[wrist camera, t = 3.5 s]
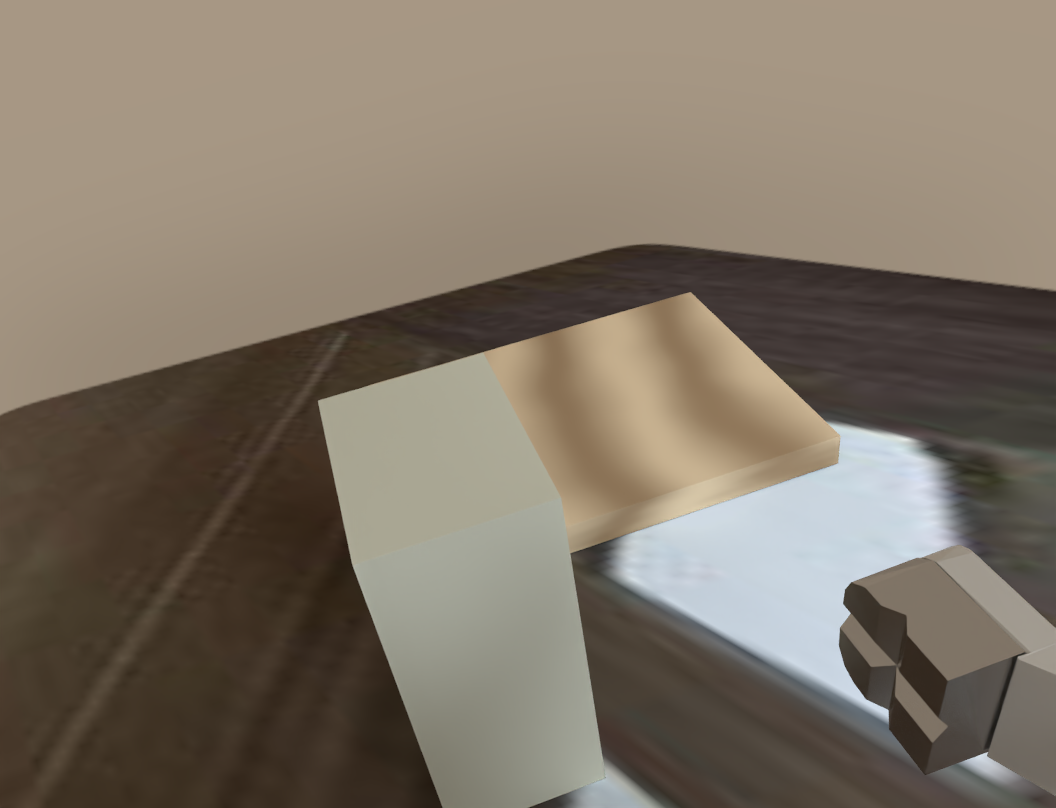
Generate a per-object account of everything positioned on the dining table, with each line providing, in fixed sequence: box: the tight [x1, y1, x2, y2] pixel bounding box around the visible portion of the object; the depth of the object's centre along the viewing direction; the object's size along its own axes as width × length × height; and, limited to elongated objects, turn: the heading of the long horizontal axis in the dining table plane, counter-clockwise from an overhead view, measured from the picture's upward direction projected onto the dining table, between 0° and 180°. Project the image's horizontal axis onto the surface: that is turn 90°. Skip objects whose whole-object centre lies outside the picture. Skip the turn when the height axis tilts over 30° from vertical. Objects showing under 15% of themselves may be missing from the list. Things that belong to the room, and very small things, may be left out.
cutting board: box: [369, 292, 840, 553], centre depth 41 cm, size 18×14×2 cm
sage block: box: [318, 353, 606, 808], centre depth 26 cm, size 5×7×12 cm
